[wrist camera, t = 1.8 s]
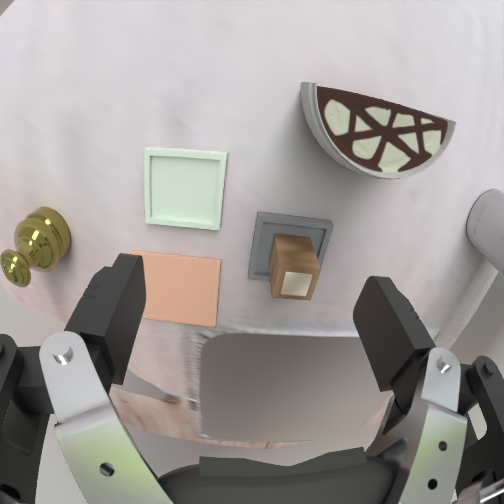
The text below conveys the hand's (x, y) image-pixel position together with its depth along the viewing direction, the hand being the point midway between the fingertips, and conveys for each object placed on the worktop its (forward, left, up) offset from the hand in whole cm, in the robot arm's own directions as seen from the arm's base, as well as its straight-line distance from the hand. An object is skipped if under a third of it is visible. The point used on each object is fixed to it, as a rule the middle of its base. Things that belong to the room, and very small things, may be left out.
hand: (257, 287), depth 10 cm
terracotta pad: (+7, +18, -20) cm, 28 cm away
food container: (-9, -5, -20) cm, 23 cm away
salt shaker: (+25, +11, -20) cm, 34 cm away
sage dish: (+6, +4, -20) cm, 21 cm away
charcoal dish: (-6, +10, -20) cm, 23 cm away
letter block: (-6, +10, -20) cm, 23 cm away
